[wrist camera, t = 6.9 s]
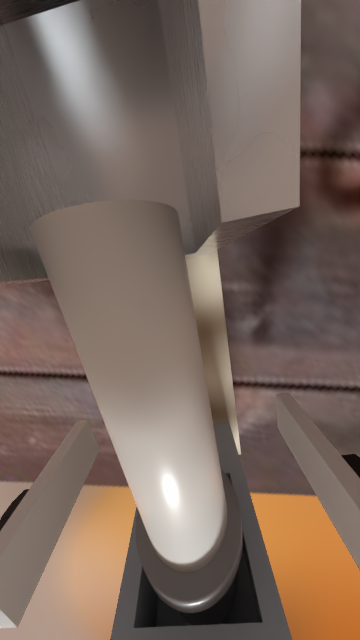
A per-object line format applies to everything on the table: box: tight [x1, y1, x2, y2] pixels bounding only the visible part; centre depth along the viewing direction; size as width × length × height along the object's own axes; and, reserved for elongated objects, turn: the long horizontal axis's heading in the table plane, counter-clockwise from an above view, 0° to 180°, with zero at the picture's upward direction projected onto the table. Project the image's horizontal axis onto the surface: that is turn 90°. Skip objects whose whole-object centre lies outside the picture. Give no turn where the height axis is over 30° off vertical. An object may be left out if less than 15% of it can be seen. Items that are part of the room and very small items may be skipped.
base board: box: [186, 250, 241, 455], centre depth 13 cm, size 28×8×1 cm, turn 10°
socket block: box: [110, 422, 292, 640], centre depth 11 cm, size 4×7×10 cm, turn 101°
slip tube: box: [30, 200, 243, 625], centre depth 8 cm, size 18×5×5 cm, turn 10°
